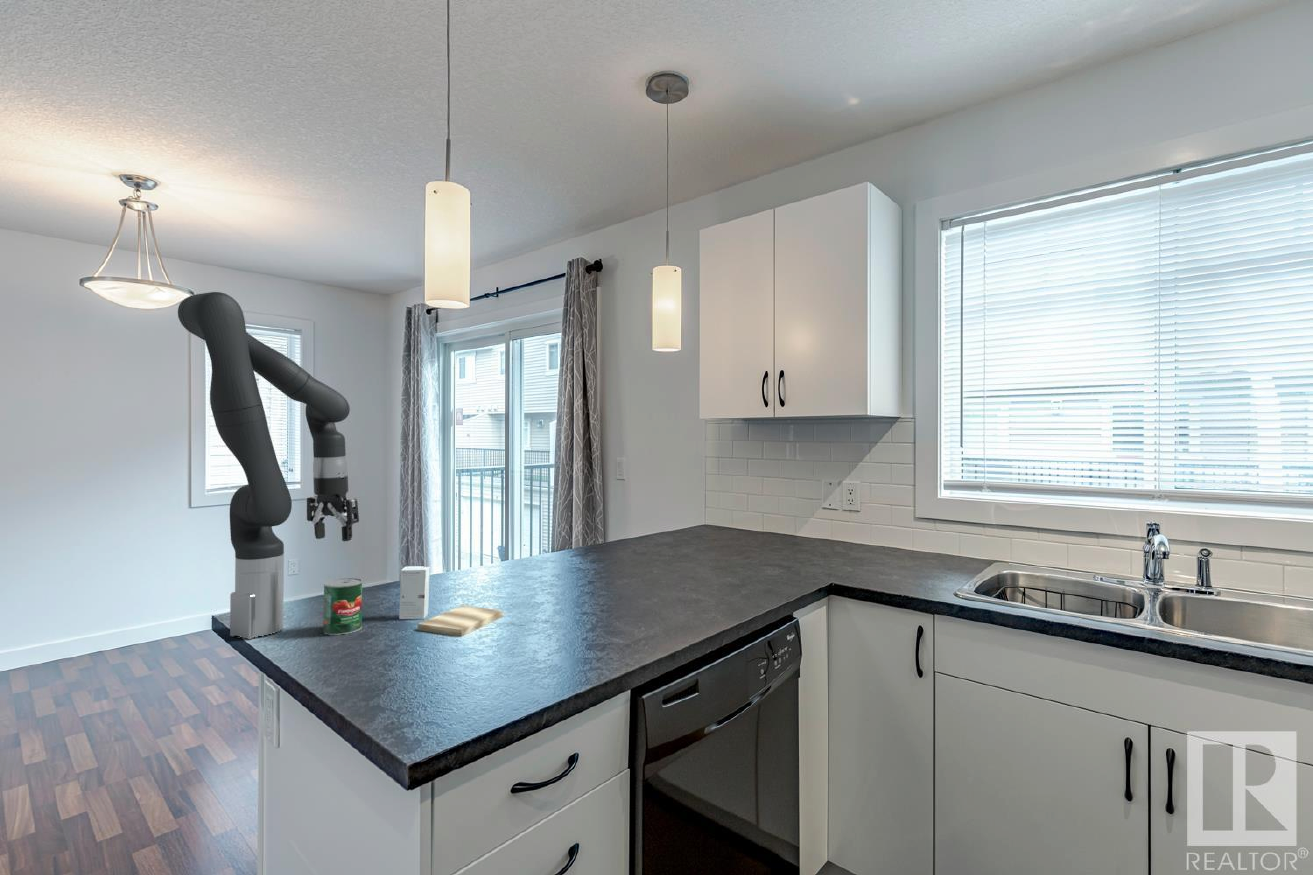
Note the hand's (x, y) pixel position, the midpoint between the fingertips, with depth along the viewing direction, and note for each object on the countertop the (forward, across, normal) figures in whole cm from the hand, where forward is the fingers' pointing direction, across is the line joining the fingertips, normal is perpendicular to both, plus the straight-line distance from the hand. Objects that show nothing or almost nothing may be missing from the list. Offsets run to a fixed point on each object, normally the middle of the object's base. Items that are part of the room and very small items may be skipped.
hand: (333, 539), depth 152 cm
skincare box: (+19, +20, +4) cm, 28 cm away
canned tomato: (+18, +12, -10) cm, 24 cm away
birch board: (+19, +34, +4) cm, 39 cm away
